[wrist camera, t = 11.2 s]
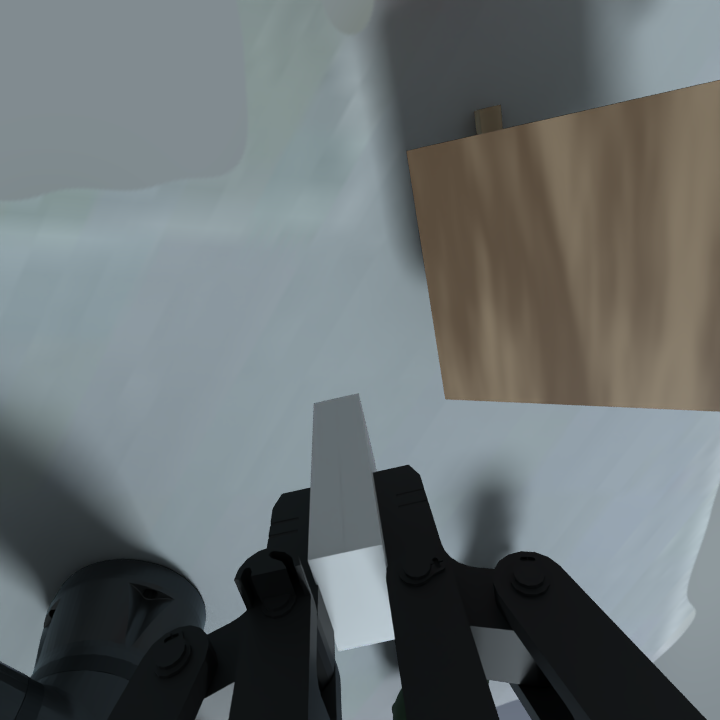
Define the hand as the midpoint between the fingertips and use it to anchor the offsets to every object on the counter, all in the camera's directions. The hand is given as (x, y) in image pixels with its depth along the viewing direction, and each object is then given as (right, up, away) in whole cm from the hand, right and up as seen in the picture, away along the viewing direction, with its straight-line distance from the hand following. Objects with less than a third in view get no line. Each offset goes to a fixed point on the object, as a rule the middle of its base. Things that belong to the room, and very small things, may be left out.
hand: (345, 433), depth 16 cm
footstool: (+7, +9, +18) cm, 21 cm away
